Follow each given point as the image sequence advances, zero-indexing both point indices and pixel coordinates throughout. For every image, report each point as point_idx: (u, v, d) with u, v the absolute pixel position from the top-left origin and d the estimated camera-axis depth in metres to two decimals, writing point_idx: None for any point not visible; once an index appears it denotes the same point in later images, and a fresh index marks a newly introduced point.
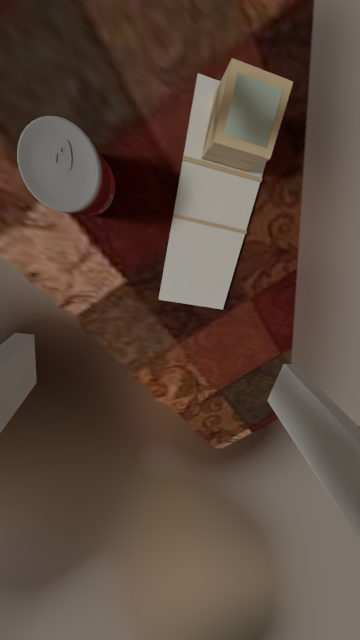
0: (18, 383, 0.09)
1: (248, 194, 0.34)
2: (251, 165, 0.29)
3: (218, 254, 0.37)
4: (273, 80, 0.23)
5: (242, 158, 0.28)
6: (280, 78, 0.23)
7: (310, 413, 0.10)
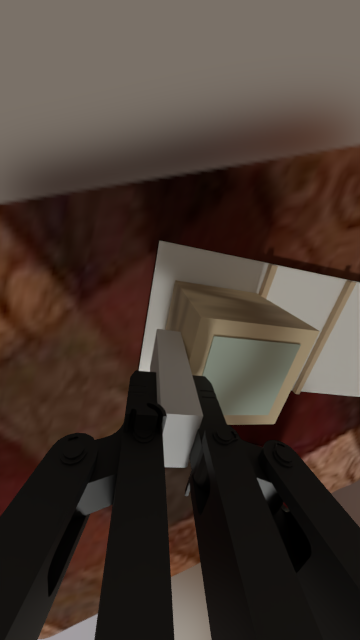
0: None
1: (288, 285, 0.18)
2: None
3: None
4: (199, 356, 0.11)
5: None
6: (196, 344, 0.11)
7: None
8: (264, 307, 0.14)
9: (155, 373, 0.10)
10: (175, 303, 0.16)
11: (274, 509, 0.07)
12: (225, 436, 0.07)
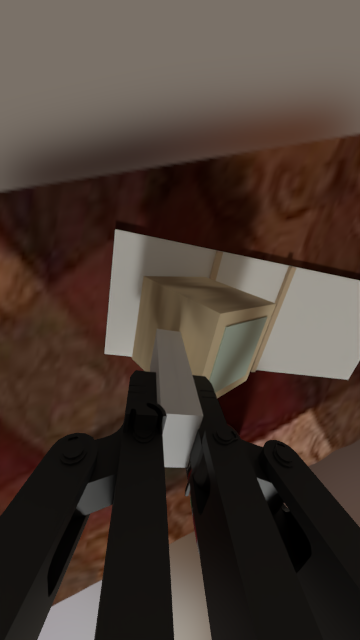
0: None
1: (236, 270, 0.21)
2: None
3: (313, 306, 0.23)
4: (214, 347, 0.13)
5: None
6: (214, 338, 0.12)
7: None
8: (229, 291, 0.17)
9: (155, 373, 0.10)
10: (153, 300, 0.15)
11: (274, 509, 0.07)
12: (225, 436, 0.07)
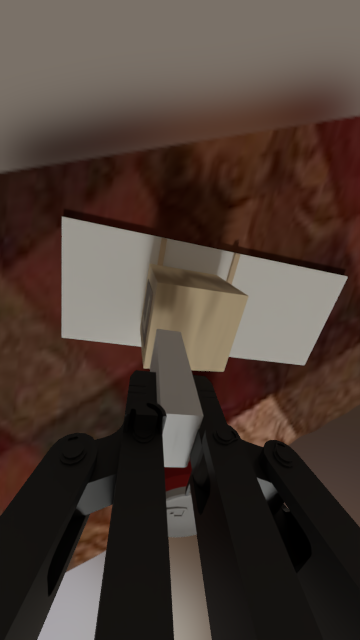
0: None
1: (182, 256, 0.22)
2: None
3: (262, 292, 0.24)
4: None
5: None
6: (242, 313, 0.17)
7: None
8: (192, 273, 0.21)
9: (155, 373, 0.10)
10: (175, 303, 0.16)
11: (274, 509, 0.07)
12: (225, 436, 0.07)
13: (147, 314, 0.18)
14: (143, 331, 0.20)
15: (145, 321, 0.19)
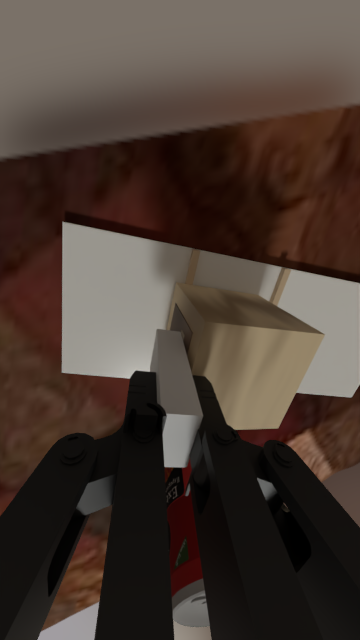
0: None
1: (217, 272, 0.17)
2: None
3: (311, 315, 0.20)
4: None
5: None
6: (312, 356, 0.13)
7: None
8: (233, 296, 0.16)
9: (155, 373, 0.10)
10: (226, 348, 0.11)
11: (274, 509, 0.07)
12: (225, 436, 0.07)
13: None
14: None
15: None
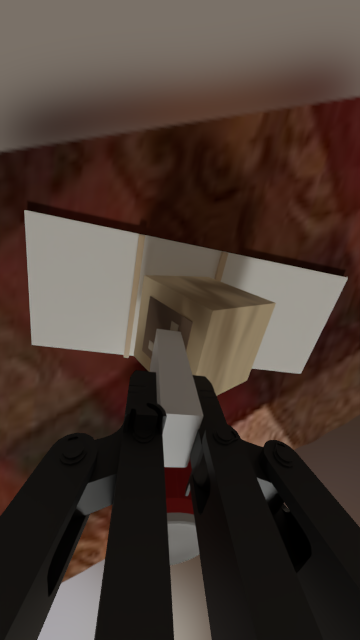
0: None
1: (164, 255, 0.20)
2: None
3: None
4: None
5: None
6: (267, 320, 0.17)
7: None
8: (196, 281, 0.18)
9: (155, 373, 0.10)
10: (223, 329, 0.13)
11: (274, 509, 0.07)
12: (225, 436, 0.07)
13: None
14: None
15: None
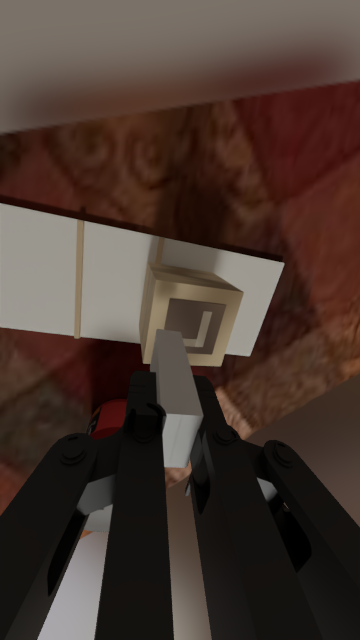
0: None
1: (104, 240, 0.21)
2: (150, 278, 0.18)
3: None
4: None
5: (145, 295, 0.20)
6: None
7: None
8: (169, 271, 0.19)
9: (155, 373, 0.10)
10: None
11: (274, 509, 0.07)
12: (225, 436, 0.07)
13: (208, 327, 0.18)
14: (191, 349, 0.18)
15: (201, 336, 0.18)
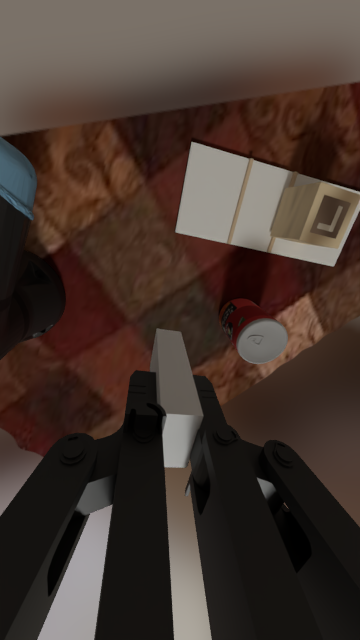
0: None
1: (260, 173, 0.33)
2: (301, 190, 0.31)
3: None
4: None
5: (289, 206, 0.33)
6: None
7: None
8: None
9: (155, 373, 0.10)
10: None
11: (274, 509, 0.07)
12: (225, 436, 0.07)
13: (338, 218, 0.30)
14: (326, 232, 0.31)
15: (333, 224, 0.30)
